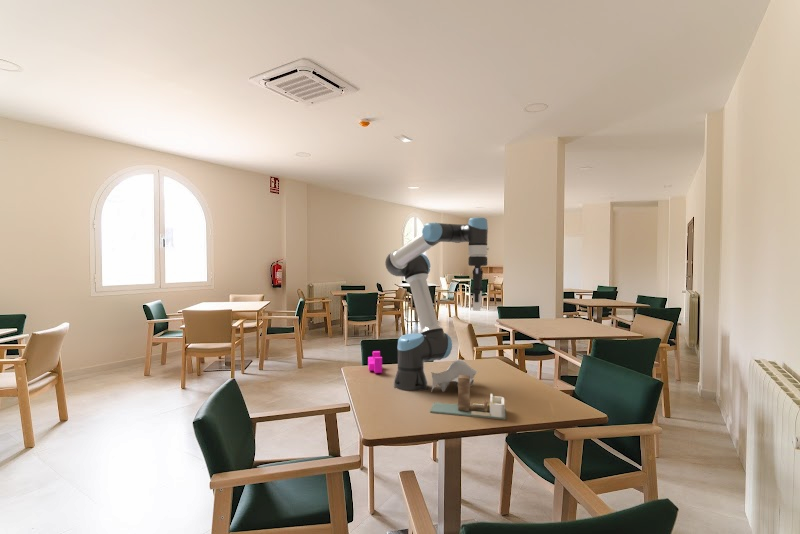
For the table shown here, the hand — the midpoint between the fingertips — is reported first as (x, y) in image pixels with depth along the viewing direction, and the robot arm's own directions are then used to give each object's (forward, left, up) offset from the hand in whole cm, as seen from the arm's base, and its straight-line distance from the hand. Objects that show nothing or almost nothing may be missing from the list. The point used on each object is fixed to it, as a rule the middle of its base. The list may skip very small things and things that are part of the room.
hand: (477, 308), depth 161 cm
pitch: (-3, -15, -37) cm, 40 cm away
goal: (+8, -15, -36) cm, 40 cm away
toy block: (-54, +32, -37) cm, 73 cm away
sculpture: (-11, +14, -37) cm, 41 cm away
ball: (+6, -15, -34) cm, 38 cm away
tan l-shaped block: (-4, -15, -37) cm, 40 cm away
